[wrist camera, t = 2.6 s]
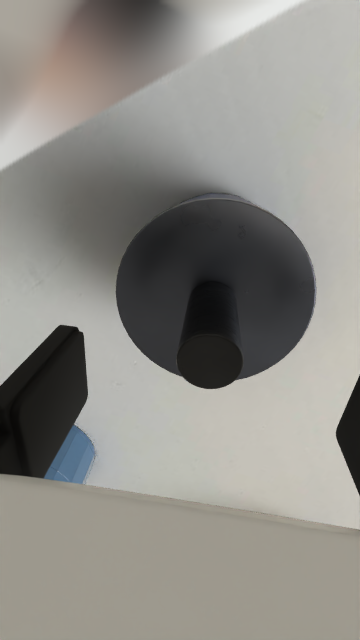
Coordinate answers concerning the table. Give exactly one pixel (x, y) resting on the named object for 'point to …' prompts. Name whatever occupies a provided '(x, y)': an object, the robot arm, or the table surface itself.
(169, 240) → the lid
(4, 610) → the robot arm
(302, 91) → the table surface
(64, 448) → the pot
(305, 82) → the table surface
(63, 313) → the table surface
